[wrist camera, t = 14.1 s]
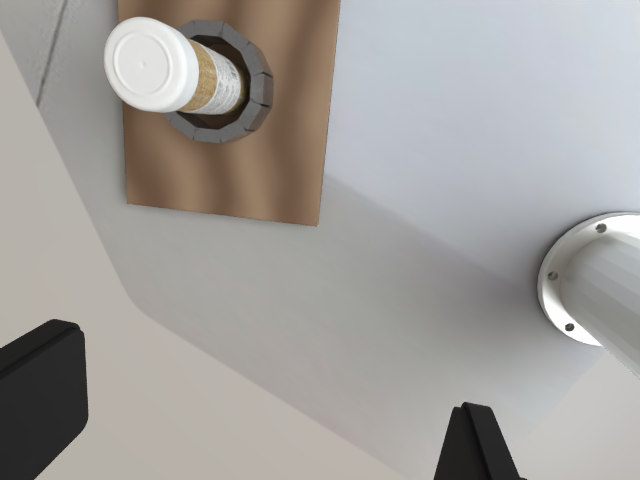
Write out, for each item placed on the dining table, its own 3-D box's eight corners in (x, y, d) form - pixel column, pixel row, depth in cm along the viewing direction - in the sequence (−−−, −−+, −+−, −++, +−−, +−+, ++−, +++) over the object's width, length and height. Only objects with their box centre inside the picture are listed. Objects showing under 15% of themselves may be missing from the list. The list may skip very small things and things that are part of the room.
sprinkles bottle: (192, 72, 33) (83, 37, 20) (240, 50, 32) (159, -3, 19) (215, 125, 34) (126, 124, 21) (262, 105, 33) (200, 90, 20)
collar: (276, 36, 31) (266, 25, 28) (270, 145, 34) (260, 147, 30) (173, 27, 32) (151, 15, 28) (174, 135, 34) (154, 136, 31)
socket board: (345, -49, 30) (344, -58, 29) (318, 222, 37) (316, 226, 35) (125, -65, 32) (114, -74, 30) (136, 200, 38) (127, 203, 36)
